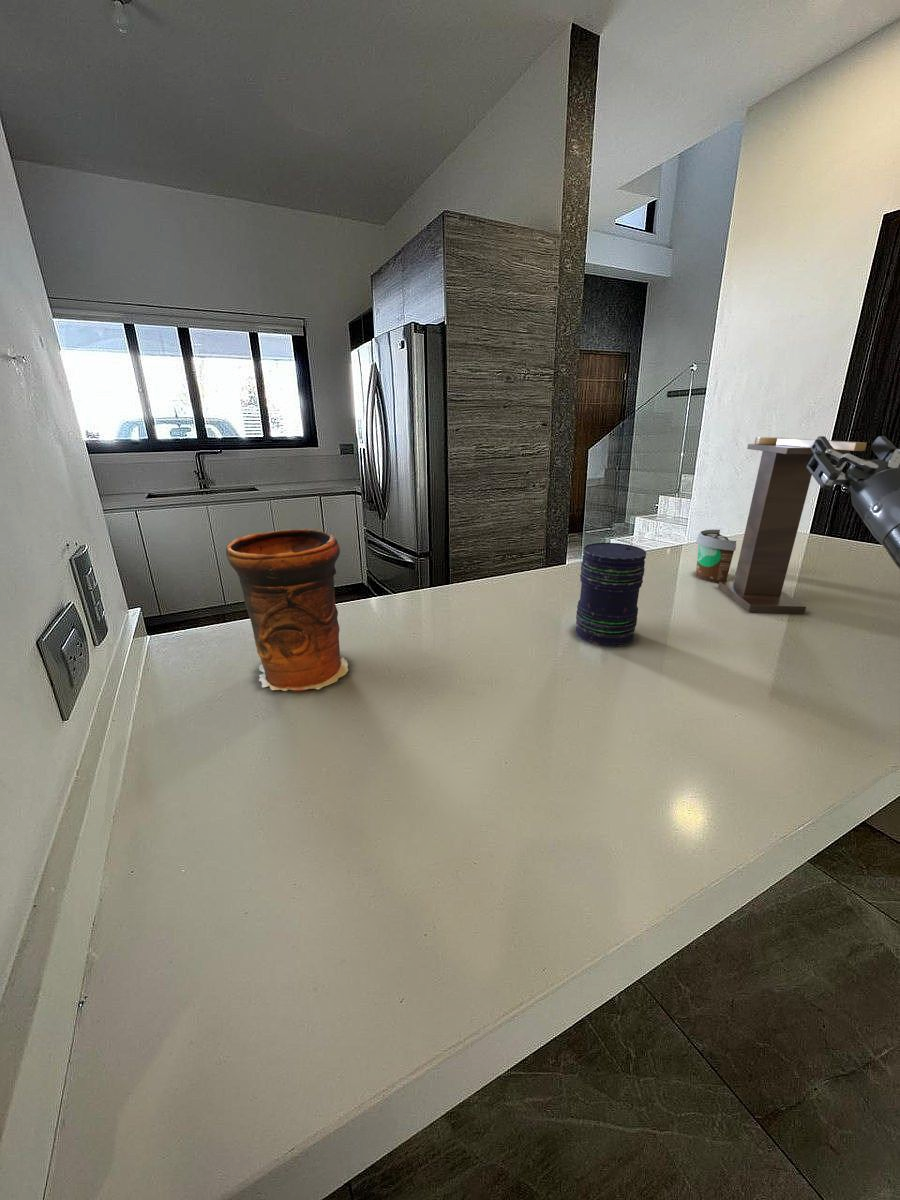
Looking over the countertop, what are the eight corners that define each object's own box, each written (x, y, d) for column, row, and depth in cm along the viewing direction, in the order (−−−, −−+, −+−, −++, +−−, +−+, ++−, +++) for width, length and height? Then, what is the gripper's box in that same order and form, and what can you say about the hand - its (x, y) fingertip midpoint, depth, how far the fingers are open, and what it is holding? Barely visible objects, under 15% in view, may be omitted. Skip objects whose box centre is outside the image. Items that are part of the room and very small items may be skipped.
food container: (684, 568, 118) (691, 528, 115) (711, 569, 117) (719, 529, 113) (697, 583, 107) (706, 540, 103) (727, 585, 106) (737, 541, 102)
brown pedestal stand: (804, 614, 90) (851, 448, 80) (748, 612, 91) (787, 447, 81) (766, 589, 103) (802, 443, 93) (717, 587, 104) (748, 443, 94)
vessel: (237, 702, 63) (209, 556, 56) (260, 653, 76) (239, 529, 69) (348, 693, 65) (335, 550, 58) (352, 646, 78) (341, 525, 71)
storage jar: (600, 651, 76) (611, 561, 71) (562, 628, 85) (570, 546, 79) (647, 640, 80) (661, 554, 75) (607, 619, 88) (616, 540, 83)
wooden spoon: (874, 450, 73) (876, 442, 73) (844, 451, 73) (847, 442, 73) (772, 443, 94) (773, 436, 94) (748, 443, 94) (750, 437, 94)
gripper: (827, 530, 67) (786, 461, 77) (937, 532, 66) (881, 462, 76) (859, 487, 62) (810, 419, 72) (981, 488, 60) (914, 418, 70)
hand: (847, 441), depth 74 cm, fingers open, 8 cm apart
